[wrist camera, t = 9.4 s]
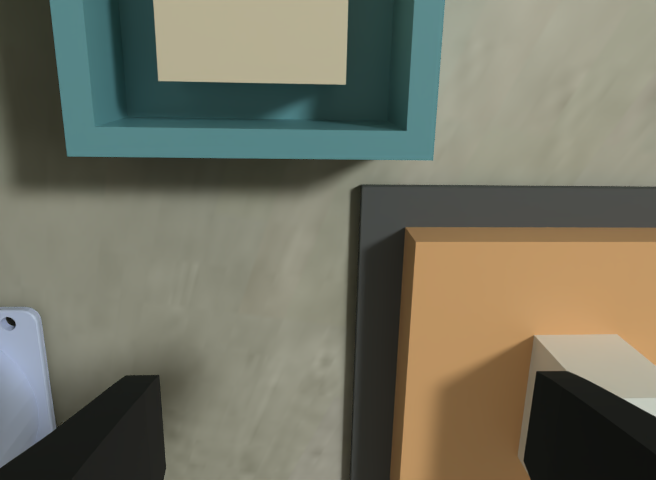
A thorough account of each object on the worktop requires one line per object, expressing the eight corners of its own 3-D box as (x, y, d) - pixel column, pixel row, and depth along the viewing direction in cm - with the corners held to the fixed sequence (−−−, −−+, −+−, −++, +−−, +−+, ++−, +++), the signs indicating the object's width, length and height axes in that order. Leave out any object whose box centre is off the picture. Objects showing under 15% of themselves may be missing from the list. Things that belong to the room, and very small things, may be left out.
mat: (348, 527, 24) (349, 534, 24) (361, 184, 20) (362, 187, 20) (681, 516, 25) (686, 523, 25) (761, 187, 21) (770, 189, 21)
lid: (388, 499, 24) (418, 631, 18) (405, 227, 20) (448, 287, 15) (659, 491, 24) (767, 615, 19) (720, 227, 21) (874, 285, 15)
